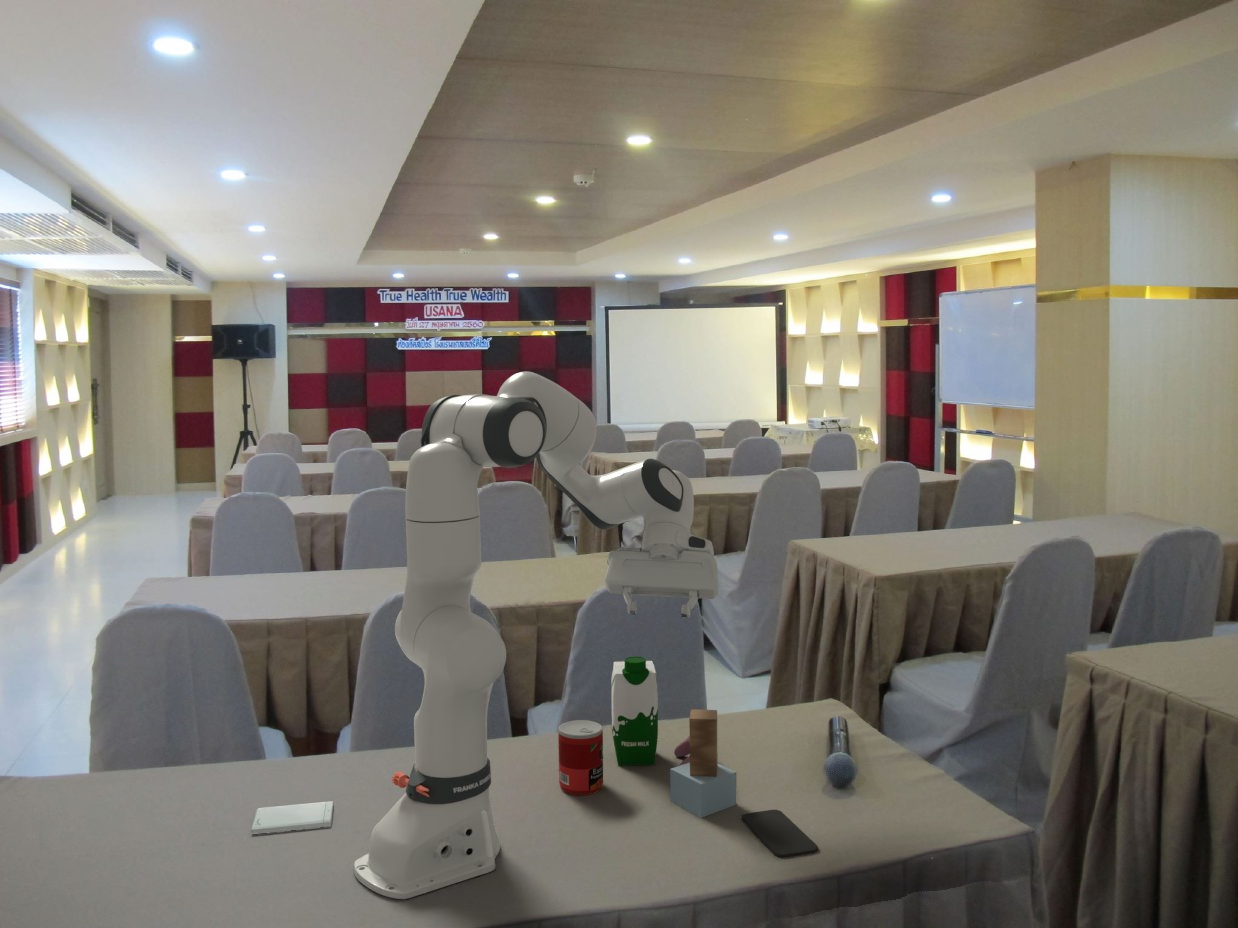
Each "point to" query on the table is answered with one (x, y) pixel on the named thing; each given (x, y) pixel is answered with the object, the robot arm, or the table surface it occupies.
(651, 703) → the milk carton
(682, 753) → the video game controller
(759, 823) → the phone
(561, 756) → the canned food
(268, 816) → the hard drive
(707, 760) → the walnut post
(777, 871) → the table surface
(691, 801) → the base block
